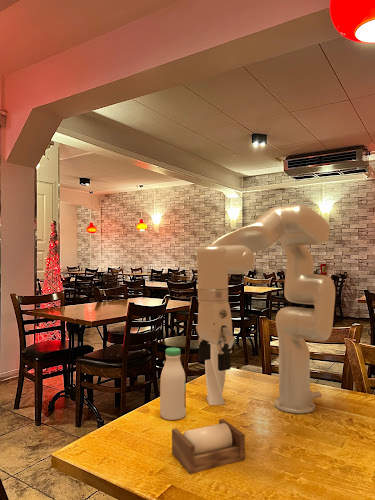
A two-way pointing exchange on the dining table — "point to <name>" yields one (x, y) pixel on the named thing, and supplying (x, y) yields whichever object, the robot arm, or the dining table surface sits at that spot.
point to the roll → (210, 438)
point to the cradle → (193, 463)
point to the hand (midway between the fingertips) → (214, 364)
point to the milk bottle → (172, 387)
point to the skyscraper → (214, 378)
